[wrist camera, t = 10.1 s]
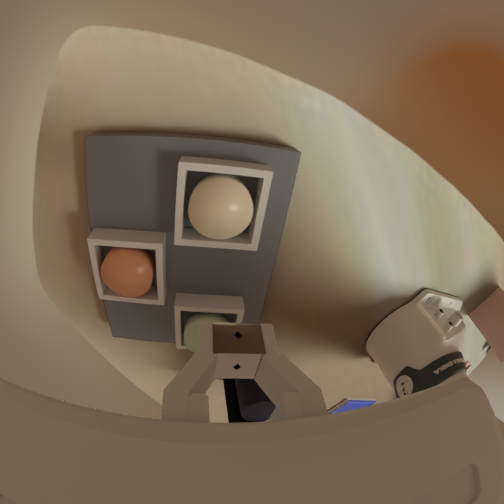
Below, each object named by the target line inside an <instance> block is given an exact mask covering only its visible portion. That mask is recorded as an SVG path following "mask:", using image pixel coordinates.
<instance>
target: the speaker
mask: <svg viewBox="0 0 504 504" xmlns="http://www.w3.org/2000/svg"><path fill="white" fill-rule="evenodd" d="M223 381H224V389H225V397H226V405H227V413H228V420H229V423H241V422H263V421H266V420H269V418H270V416H271V414H272V413H273V411H274V409H275V408H276V406H275V405H274V403H273V402H272V401H271V400H270V399H269V397H268V396H267V395H266V394H265V392H264V391H263V390H262V389H261V387H260V386H259V385H258V384H257V382H256V381H255V380H254V379H238V378H234V379H224V380H223Z"/></svg>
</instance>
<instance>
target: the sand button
mask: <svg viewBox="0 0 504 504" xmlns="http://www.w3.org/2000/svg"><path fill="white" fill-rule="evenodd" d="M188 215H189V219H190V222H191V224H192V225H193V227H194V228H195V229H196V230H197V231H198V232H199V233H200V234H202V235H204V236H206V237H208V238H212V239H219V240H222V239H229V238H232V237H234V236H237V235H238V234H240V233H241V232H243V231H244V230H245V229H246V228H247V226H248V225H249V223H250V222H251V219H252V216H253V202H252V199H251V196H250V193H249V191H248V188H247V186H246V185H245V183H244V182H243V181H242V180H241V179H239V178H238V177H236V176H234V175H232V174H223V173H212V174H209V175H207V176H205V177H203V178H202V179H200V180H199V181H198V182H197V183H196V185H195V186H194V188H193V190H192V192H191V196H190V200H189V206H188Z"/></svg>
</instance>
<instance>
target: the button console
mask: <svg viewBox="0 0 504 504" xmlns="http://www.w3.org/2000/svg"><path fill="white" fill-rule="evenodd" d="M300 156H301V152H300V151H298V150H297V149H295V148H292V147H287V146H281V145H275V144H269V143H263V142H256V141H249V140H241V139H233V138H225V137H215V136H205V135H193V134H178V133H156V132H99V133H92V134H90V135H88V136H85V169H86V189H87V202H88V213H89V222H90V230H91V234H90V235H89V237H88V238H87V241H88V248H89V253H90V259H91V264H92V270H93V275H94V279H95V284H96V288H97V293H98V297H99V299H103V301H104V305H105V309H106V313H107V317H108V321H109V324H110V328H111V331H112V335H113V337H119V338H127V339H136V340H145V341H156V342H168V343H176V349H188V348H187V347H186V346H185V344H184V328H185V322H186V320H187V319H188V318H189V317H190V316H192V315H194V314H196V313H200V312H209V313H218V314H221V315H222V316H224V317H225V318H227V320H228V321H229V323H259V320H260V316H261V312H262V308H263V305H264V301H265V297H266V294H267V290H268V286H269V282H270V278H271V275H272V271H273V267H274V263H275V259H276V255H277V251H278V247H279V243H280V239H281V235H282V231H283V227H284V223H285V219H286V215H287V211H288V207H289V203H290V199H291V194H292V190H293V186H294V182H295V178H296V173H297V169H298V165H299V160H300ZM212 173H223V174H232V175H234V176H236V177H238V178H239V179H241V180H242V181H243V182H244V183H245V185H246V186H247V188H248V191H249V193H250V196H251V199H252V202H253V216H252V219H251V222H250V223H249V225H248V226H247V228H246V229H245V230H244V231H243V232H241V233H240V234H238V235H237V236H234V237H232V238H229V239H222V240H219V239H212V238H208V237H206V236H204V235H202V234H200V233H199V232H198V231H197V230H196V229H195V228H194V227H193V225H192V224H191V222H190V219H189V215H188V206H189V200H190V196H191V192H192V190H193V188H194V186H195V185H196V183H197V182H198V181H199V180H200V179H202V178H203V177H205V176H207V175H209V174H212ZM112 246H113V247H126V248H140V249H147V250H148V251H149V252H150V253H151V255H152V256H153V259H154V262H155V271H154V275H153V279H152V283H151V287H150V288H149V290H148V291H147V292H146V293H145V294H143V295H141V296H138V297H125V296H122V295H119V294H117V293H115V292H113V291H112V290H111V289H110V288H109V287H108V286H107V285H106V284H105V283H104V281H103V279H102V276H101V266H102V263H103V261H104V259H105V257H106V255H107V253H108V251H109V250H110V248H111V247H112Z"/></svg>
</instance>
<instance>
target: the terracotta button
mask: <svg viewBox="0 0 504 504" xmlns="http://www.w3.org/2000/svg"><path fill="white" fill-rule="evenodd" d="M154 271H155V262H154V259H153V256H152V255H151V253H150V252H149V251H148V250H147V249H140V248H126V247H113V246H112V247H111V248H110V250H109V251H108V253H107V255H106V257H105V259H104V261H103V263H102V266H101V276H102V279H103V281H104V283H105V284H106V285H107V286H108V287H109V288H110V289H111V290H112V291H113V292H115V293H117V294H119V295H122V296H125V297H138V296H141V295H143V294H145V293H146V292H147V291H148V290H149V288H150V287H151V283H152V279H153V275H154Z"/></svg>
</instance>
